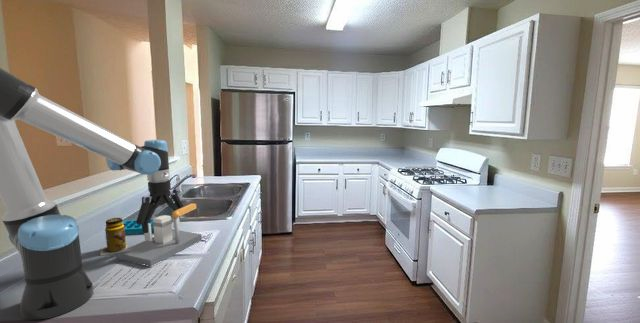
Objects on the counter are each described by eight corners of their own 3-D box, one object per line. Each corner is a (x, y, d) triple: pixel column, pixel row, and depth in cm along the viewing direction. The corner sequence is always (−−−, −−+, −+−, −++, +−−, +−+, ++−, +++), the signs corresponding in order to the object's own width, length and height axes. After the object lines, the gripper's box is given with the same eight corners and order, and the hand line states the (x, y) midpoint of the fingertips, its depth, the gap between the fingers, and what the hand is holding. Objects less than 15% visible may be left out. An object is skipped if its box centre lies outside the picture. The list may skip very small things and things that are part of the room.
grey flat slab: (151, 267, 101) (150, 260, 100) (118, 259, 106) (117, 252, 106) (201, 240, 123) (201, 234, 123) (172, 234, 129) (171, 229, 128)
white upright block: (163, 249, 114) (161, 219, 112) (154, 247, 116) (152, 218, 114) (173, 244, 118) (171, 216, 117) (164, 242, 120) (162, 214, 118)
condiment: (127, 250, 113) (124, 220, 112) (100, 256, 109) (96, 225, 107) (127, 243, 119) (124, 215, 118) (101, 248, 115) (97, 219, 113)
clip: (172, 243, 113) (170, 212, 112) (193, 231, 125) (191, 203, 123) (177, 243, 113) (175, 213, 111) (198, 231, 125) (196, 203, 123)
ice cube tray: (124, 226, 138) (124, 220, 138) (171, 224, 142) (170, 218, 142) (112, 236, 127) (111, 230, 126) (163, 233, 131) (163, 226, 130)
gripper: (136, 188, 100) (142, 248, 104) (191, 175, 123) (194, 224, 126) (120, 186, 103) (126, 244, 106) (177, 173, 126) (180, 222, 129)
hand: (163, 233), depth 116 cm, fingers open, 12 cm apart
